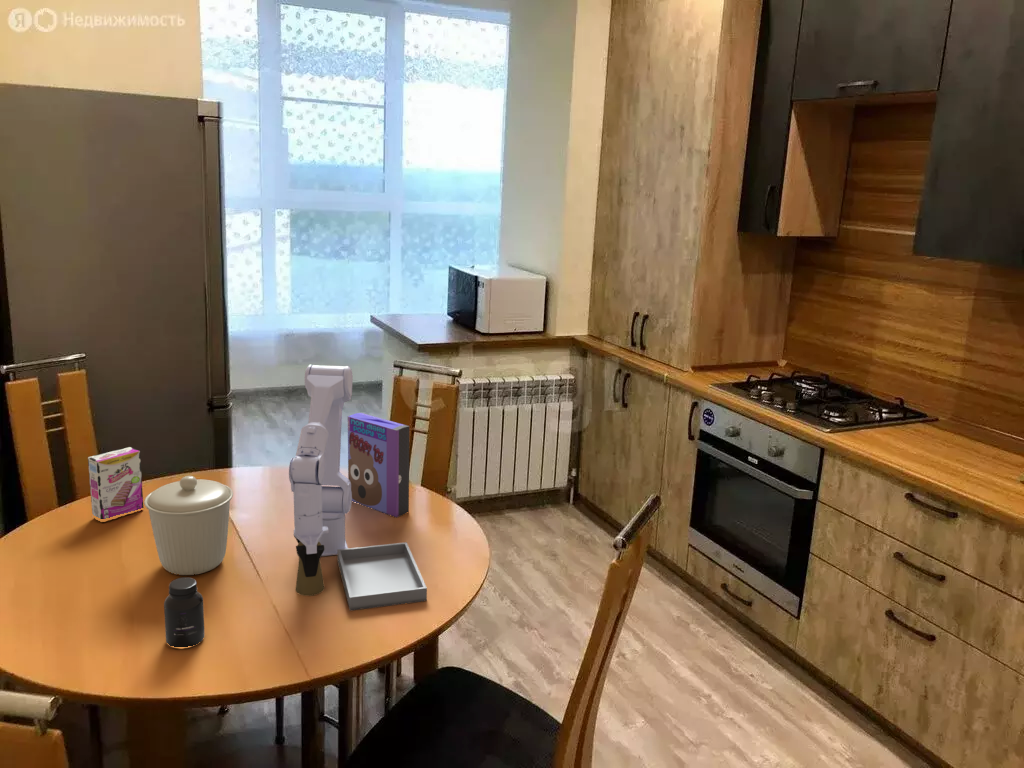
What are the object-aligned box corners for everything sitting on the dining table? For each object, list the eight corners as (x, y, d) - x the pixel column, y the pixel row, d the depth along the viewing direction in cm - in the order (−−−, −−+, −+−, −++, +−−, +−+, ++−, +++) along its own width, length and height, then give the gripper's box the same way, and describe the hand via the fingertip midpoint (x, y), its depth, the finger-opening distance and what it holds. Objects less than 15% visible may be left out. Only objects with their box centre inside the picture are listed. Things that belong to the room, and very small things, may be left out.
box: (349, 610, 166) (349, 597, 165) (337, 561, 186) (337, 549, 185) (426, 600, 171) (426, 588, 170) (406, 553, 191) (406, 542, 190)
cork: (299, 598, 170) (297, 550, 167) (292, 584, 175) (291, 538, 172) (327, 592, 172) (326, 545, 170) (320, 579, 178) (319, 533, 175)
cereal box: (348, 500, 220) (347, 415, 213) (361, 495, 223) (360, 411, 217) (396, 517, 210) (396, 429, 204) (408, 512, 214) (409, 425, 208)
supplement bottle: (181, 654, 149) (177, 596, 146) (158, 642, 152) (153, 585, 149) (213, 637, 154) (209, 581, 151) (189, 626, 158) (186, 570, 155)
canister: (135, 563, 181) (128, 475, 176) (212, 539, 194) (207, 456, 189) (172, 593, 169) (165, 500, 164) (251, 565, 182) (247, 478, 177)
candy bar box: (102, 524, 199) (96, 461, 195) (92, 519, 202) (86, 456, 198) (145, 510, 208) (140, 450, 204) (134, 505, 211) (129, 445, 207)
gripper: (331, 523, 164) (332, 583, 167) (324, 495, 177) (325, 552, 180) (295, 526, 161) (297, 588, 165) (290, 498, 175) (292, 555, 178)
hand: (309, 569), depth 172 cm, fingers closed on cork, 5 cm apart
